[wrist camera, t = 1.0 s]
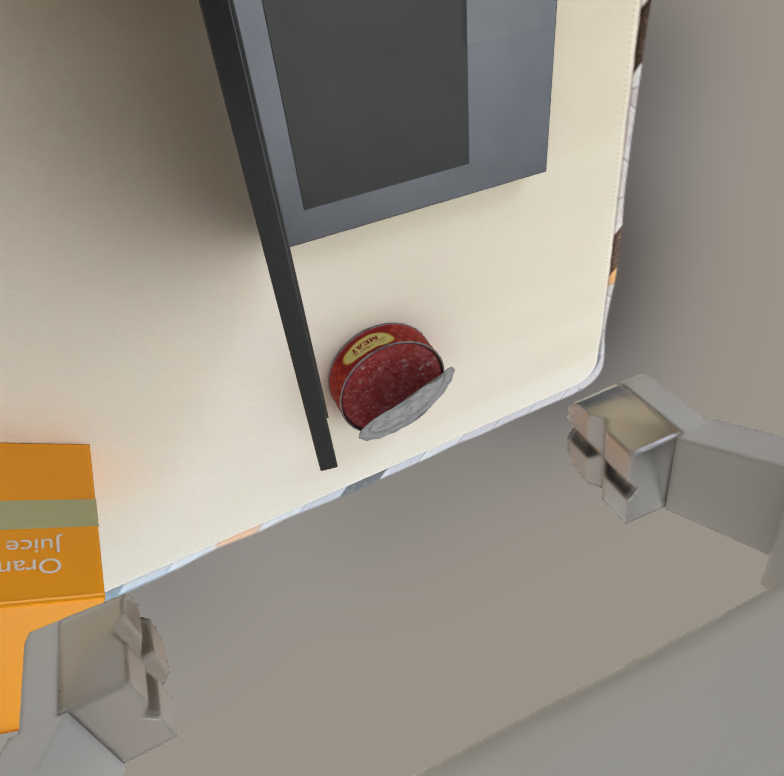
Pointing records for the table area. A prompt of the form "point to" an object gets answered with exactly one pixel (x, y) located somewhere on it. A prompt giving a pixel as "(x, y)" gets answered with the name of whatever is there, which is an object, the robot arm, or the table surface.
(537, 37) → the laptop
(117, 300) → the table surface
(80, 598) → the orange juice
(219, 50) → the laptop screen
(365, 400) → the canned food
